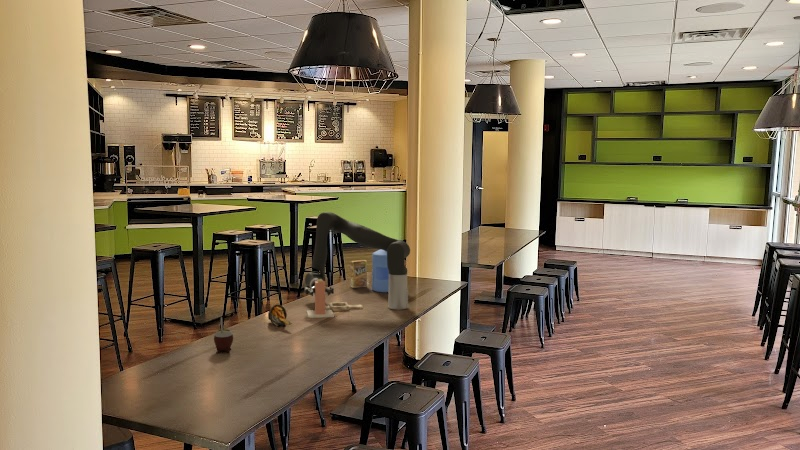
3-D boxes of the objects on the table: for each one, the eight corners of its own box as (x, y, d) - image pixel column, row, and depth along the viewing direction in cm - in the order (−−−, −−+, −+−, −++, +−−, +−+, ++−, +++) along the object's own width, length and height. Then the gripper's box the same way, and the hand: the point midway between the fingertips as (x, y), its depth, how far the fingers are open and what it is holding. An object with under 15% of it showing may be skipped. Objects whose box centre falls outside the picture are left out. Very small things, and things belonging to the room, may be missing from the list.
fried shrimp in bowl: (280, 308, 289) (304, 302, 277) (277, 332, 285) (301, 327, 273) (263, 304, 283) (287, 297, 271) (260, 328, 279) (283, 322, 267)
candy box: (353, 288, 357) (353, 261, 356) (350, 286, 361) (350, 260, 359) (367, 287, 362) (367, 260, 360) (364, 285, 365) (364, 259, 364)
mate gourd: (226, 347, 246) (225, 309, 244) (238, 351, 241) (237, 313, 239) (209, 351, 240) (208, 313, 238) (221, 356, 235) (221, 317, 233)
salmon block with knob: (324, 311, 301) (324, 278, 299) (325, 314, 297) (325, 280, 295) (315, 312, 300) (315, 279, 298) (315, 314, 296) (315, 280, 294)
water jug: (367, 288, 358) (368, 239, 355) (392, 286, 365) (393, 238, 362) (378, 293, 344) (378, 243, 341) (404, 291, 351) (404, 241, 348)
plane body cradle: (360, 305, 317) (360, 301, 317) (363, 309, 308) (363, 305, 308) (314, 307, 312) (314, 303, 312) (316, 311, 303) (316, 307, 303)
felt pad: (331, 310, 305) (331, 309, 305) (334, 316, 294) (334, 315, 294) (306, 311, 303) (306, 310, 303) (308, 318, 291) (308, 316, 291)
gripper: (303, 279, 309) (305, 286, 293) (332, 278, 312) (335, 285, 296) (303, 294, 310) (305, 301, 294) (332, 293, 313) (335, 300, 297)
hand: (320, 293), depth 295 cm, fingers open, 7 cm apart
